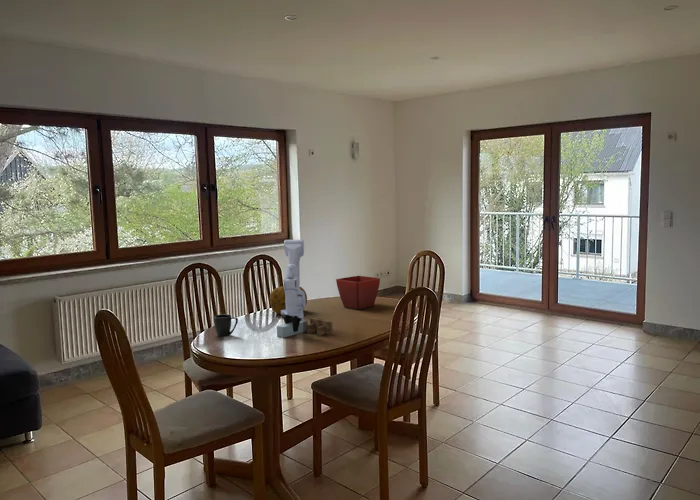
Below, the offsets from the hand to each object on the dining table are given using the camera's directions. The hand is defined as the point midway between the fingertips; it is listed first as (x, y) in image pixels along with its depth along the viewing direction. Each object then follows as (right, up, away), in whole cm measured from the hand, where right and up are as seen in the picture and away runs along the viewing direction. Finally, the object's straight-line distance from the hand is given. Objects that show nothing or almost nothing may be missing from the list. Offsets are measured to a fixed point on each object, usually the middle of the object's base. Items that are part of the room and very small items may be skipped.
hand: (292, 330), depth 262 cm
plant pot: (+33, +5, +58) cm, 67 cm away
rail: (0, -1, 0) cm, 1 cm away
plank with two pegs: (+13, -1, +1) cm, 13 cm away
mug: (-32, -3, 0) cm, 32 cm away
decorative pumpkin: (-7, +3, +46) cm, 47 cm away
